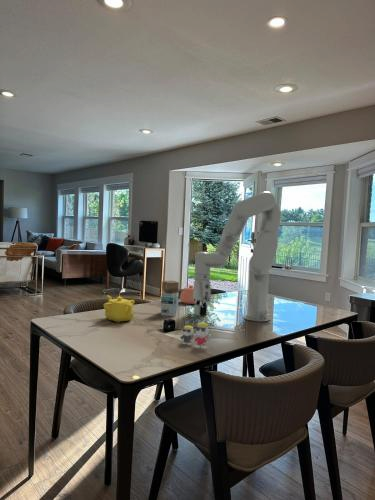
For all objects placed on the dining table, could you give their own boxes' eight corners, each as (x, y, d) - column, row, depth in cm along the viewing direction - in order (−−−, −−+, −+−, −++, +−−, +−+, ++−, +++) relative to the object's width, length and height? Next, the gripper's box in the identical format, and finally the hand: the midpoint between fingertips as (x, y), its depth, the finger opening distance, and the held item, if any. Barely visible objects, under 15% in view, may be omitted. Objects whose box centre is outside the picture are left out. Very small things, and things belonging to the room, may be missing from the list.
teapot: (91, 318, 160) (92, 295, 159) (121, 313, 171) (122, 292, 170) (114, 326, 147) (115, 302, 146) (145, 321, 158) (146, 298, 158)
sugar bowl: (178, 304, 198) (179, 286, 197) (180, 300, 212) (180, 282, 211) (201, 305, 197) (201, 287, 197) (200, 301, 211) (201, 283, 211)
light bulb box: (174, 316, 169) (175, 294, 169) (160, 315, 171) (161, 293, 170) (178, 311, 180) (179, 290, 180) (165, 310, 181) (165, 289, 181)
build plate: (163, 335, 140) (163, 324, 139) (151, 331, 145) (151, 320, 145) (185, 330, 148) (186, 319, 148) (173, 326, 154) (174, 316, 153)
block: (178, 292, 173) (178, 282, 173) (166, 293, 171) (167, 282, 170) (172, 290, 179) (173, 280, 178) (161, 291, 176) (162, 280, 176)
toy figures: (178, 343, 130) (179, 320, 129) (185, 340, 133) (186, 318, 133) (206, 350, 123) (208, 326, 123) (213, 347, 127) (214, 323, 126)
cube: (206, 315, 176) (207, 306, 175) (198, 315, 174) (199, 306, 173) (201, 313, 180) (202, 304, 179) (194, 313, 177) (194, 304, 177)
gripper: (217, 279, 170) (216, 317, 171) (200, 274, 185) (198, 309, 186) (204, 279, 166) (202, 318, 167) (187, 275, 181) (185, 310, 182)
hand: (200, 313), depth 177 cm, fingers closed on cube, 4 cm apart
